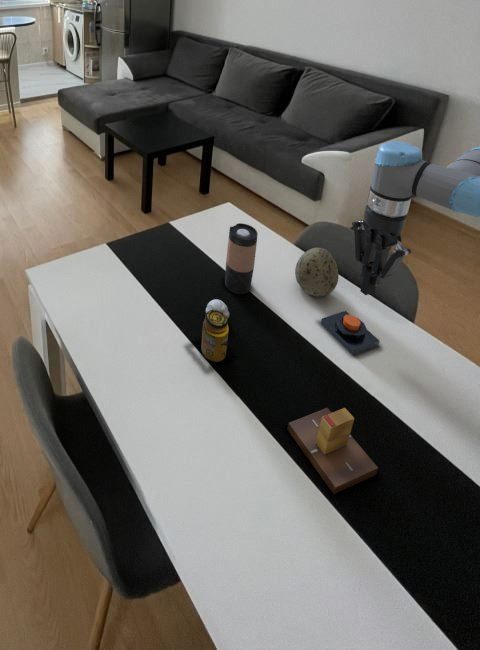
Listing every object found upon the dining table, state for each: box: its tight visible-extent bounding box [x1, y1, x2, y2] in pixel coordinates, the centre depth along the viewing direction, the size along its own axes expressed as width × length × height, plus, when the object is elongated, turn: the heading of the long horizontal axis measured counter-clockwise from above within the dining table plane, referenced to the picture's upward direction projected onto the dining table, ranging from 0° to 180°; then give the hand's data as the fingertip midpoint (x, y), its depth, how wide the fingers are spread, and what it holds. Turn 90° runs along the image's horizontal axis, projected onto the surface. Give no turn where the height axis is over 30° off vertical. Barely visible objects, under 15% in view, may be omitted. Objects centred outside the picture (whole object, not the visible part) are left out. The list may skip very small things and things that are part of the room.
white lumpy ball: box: [205, 298, 230, 320], centre depth 115 cm, size 6×7×7 cm
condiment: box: [200, 310, 230, 363], centre depth 105 cm, size 7×8×12 cm
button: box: [343, 314, 361, 331], centre depth 108 cm, size 4×4×2 cm
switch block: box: [320, 310, 380, 356], centre depth 109 cm, size 10×8×4 cm
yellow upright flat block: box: [316, 407, 355, 455], centre depth 83 cm, size 6×2×8 cm, turn 106°
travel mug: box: [224, 222, 258, 295], centre depth 124 cm, size 8×8×20 cm
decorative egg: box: [294, 247, 339, 298], centre depth 121 cm, size 11×11×15 cm
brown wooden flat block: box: [287, 407, 379, 495], centre depth 85 cm, size 12×10×3 cm
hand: (367, 291), depth 103 cm, fingers closed
